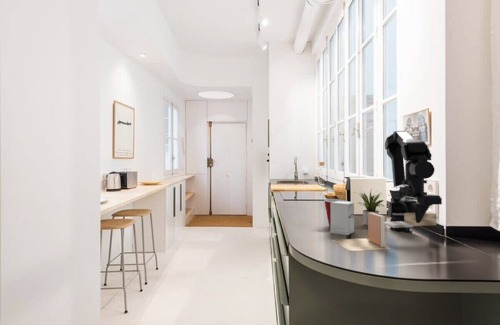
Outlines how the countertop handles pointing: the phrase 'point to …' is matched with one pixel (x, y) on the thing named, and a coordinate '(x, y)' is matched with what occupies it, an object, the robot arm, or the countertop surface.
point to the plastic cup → (328, 208)
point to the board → (359, 244)
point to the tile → (376, 229)
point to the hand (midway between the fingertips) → (414, 221)
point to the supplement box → (342, 217)
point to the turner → (414, 220)
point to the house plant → (370, 205)
